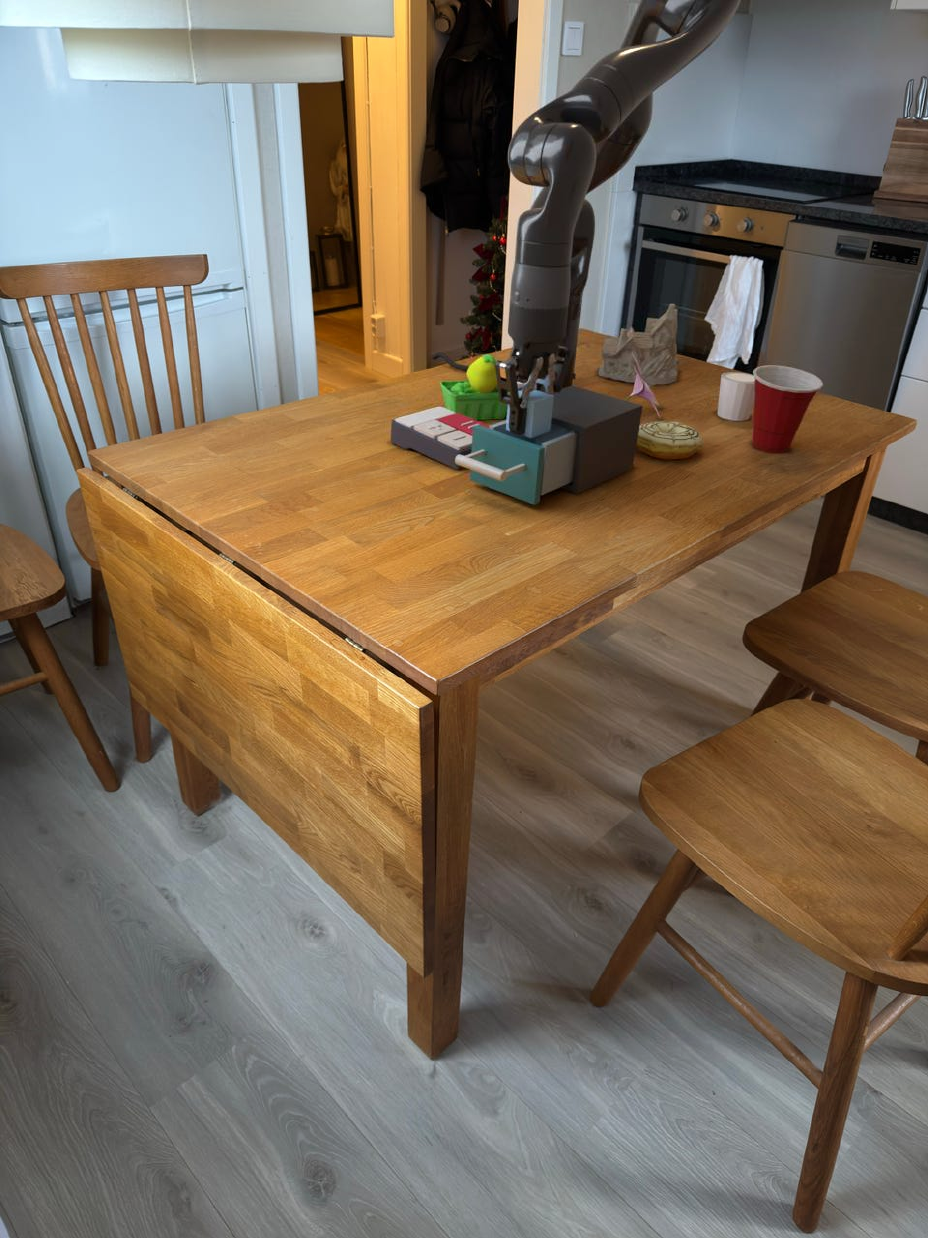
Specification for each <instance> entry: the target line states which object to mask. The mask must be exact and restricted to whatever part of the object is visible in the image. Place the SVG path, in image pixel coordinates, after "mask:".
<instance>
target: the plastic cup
mask: <svg viewBox="0 0 928 1238" xmlns="http://www.w3.org/2000/svg"><path fill="white" fill-rule="evenodd" d="M752 375H754V378H755V389H754V391H755V398H754V405H753V415H752V445H753V446H754V447H755V448H756V449H758V450H761V451H764V452H768V453H784V452H787V451H788V450H789V448H790V447H791V445H792V443H793V440H794V438H795V435H796V433H797V431H798V430H799V428H800V426H801V423H802V421H803V419H804V418H805V414H806V412H807V411H808V408H809V406H810V403H811V402H812V401H813V398H814V397H815V395H816V394H817V392H819V390H820V389H821V388H822V387H823V385H824V384H823V381H822V379H821V378H819V377H818V376H816V375H815V374H813V373H811V372H808V371H805V370H804V369H799V368H795V367H791V366H785V365H774V364H773V365H772V364H771V365H769V364H768V365H760V366H757V367H756V368H754V369H753V371H752Z"/></svg>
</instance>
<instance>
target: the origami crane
mask: <svg viewBox="0 0 928 1238" xmlns="http://www.w3.org/2000/svg"><path fill="white" fill-rule="evenodd" d="M632 354H633V353H632ZM633 356H634V355H633ZM634 358H635V357H634ZM635 360H636V358H635ZM636 363H637V366H638V371H639V375H638V373H637V370H636V368H635V367H634V366H633V367H634V369H635V371H636V373H637V377H636V381H635V383H634V386H633V390H632V393H630V394H629V396H627V397H626V398H625V399H624V400H625V401H628V400H630V398H632V397H633V396H636V397H639V398H642V399H644V400H646V401H647V402H649V403H650V404H651V405H652V407H653V408H654V410H655V411H656V413H657V416H658V417H659V418H661V415H660V414H659V411H658V408H657V407H656V405H657V406H658V407H659V408H660V409H661V406H660V404H659V401H658V400H657V398H656V396H655V393H654V392H653V390H652V389H650V388H654V386H656V384H655V383H654V384H646V383H645V382H644V381H643V380H642V378H641V370H640V367H639V364H638V362H637V360H636ZM651 382H652V381H651ZM655 404H656V405H655Z"/></svg>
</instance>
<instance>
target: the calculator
mask: <svg viewBox="0 0 928 1238" xmlns="http://www.w3.org/2000/svg"><path fill="white" fill-rule="evenodd" d="M477 425H480V426H483V427H486V428H489V426H490V425H488V424H486V423H483V422H481V421H480V420H474V419H472V418H469V417H467V416H465V415H462V414H460V413H455V412H453V411H450V410H448V409H446V407H443V406H436V407H431V408H428V409H425V410H422V411H417V412H414V413H410V414H407V415H403V416H399V417H397V418H395V419H393V420H391V423H390V443H392V444H394V445H396V446H398V447H400V448H402V449H404V450H409V449H412V450H413V451H415V452H418V453H420V454H422V455H424V456H426V457H428V458H430V459H433V460H435V461H437V462H439V463H441V464H443V465H445V466H447V467H449V468H452V469H453V470H456V471H460V470H463V469H466V468H465V467H462V466H460V465H457V464H456V463H455V458H456V456H457V455H459V454H460V455H463V456H466V455H468V454H471V453H472V434H473V427H474V426H477Z"/></svg>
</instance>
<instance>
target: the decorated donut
mask: <svg viewBox="0 0 928 1238" xmlns="http://www.w3.org/2000/svg"><path fill="white" fill-rule="evenodd" d="M703 446H704V439H703V437H702V435H701V433H699V431H698V430H696V429H694V428H693V427H691V426H690V425H687V424H685V423H682V422H679V421H661V420H660V421H659V420H657V421H651V422H646V423H643V424H640V426H639V433H638V439H637V446H636V447H637V448H638V449H639V450H640V452H642V453H644V454H646V455H648V456H650V457H652V458H657V459H662V460H668V461H670V460H684V459H687V458H690V457H692V456H693V455H694V454H695V453H697V452H698V451H699V449H701V448H703Z"/></svg>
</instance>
